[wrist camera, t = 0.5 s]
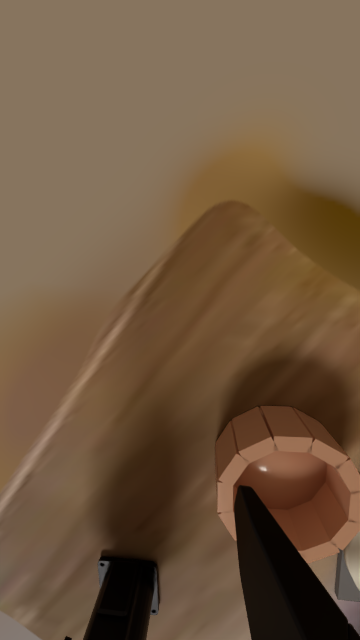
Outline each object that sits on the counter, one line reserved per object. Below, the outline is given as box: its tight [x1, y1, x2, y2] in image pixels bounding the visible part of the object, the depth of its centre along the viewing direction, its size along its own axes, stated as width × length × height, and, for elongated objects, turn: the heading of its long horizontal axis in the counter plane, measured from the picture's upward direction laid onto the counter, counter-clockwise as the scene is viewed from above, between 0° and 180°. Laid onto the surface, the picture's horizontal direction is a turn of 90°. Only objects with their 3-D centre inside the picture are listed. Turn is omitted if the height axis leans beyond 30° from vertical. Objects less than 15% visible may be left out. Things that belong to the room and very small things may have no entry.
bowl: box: [215, 406, 360, 564], centre depth 21 cm, size 11×11×4 cm
